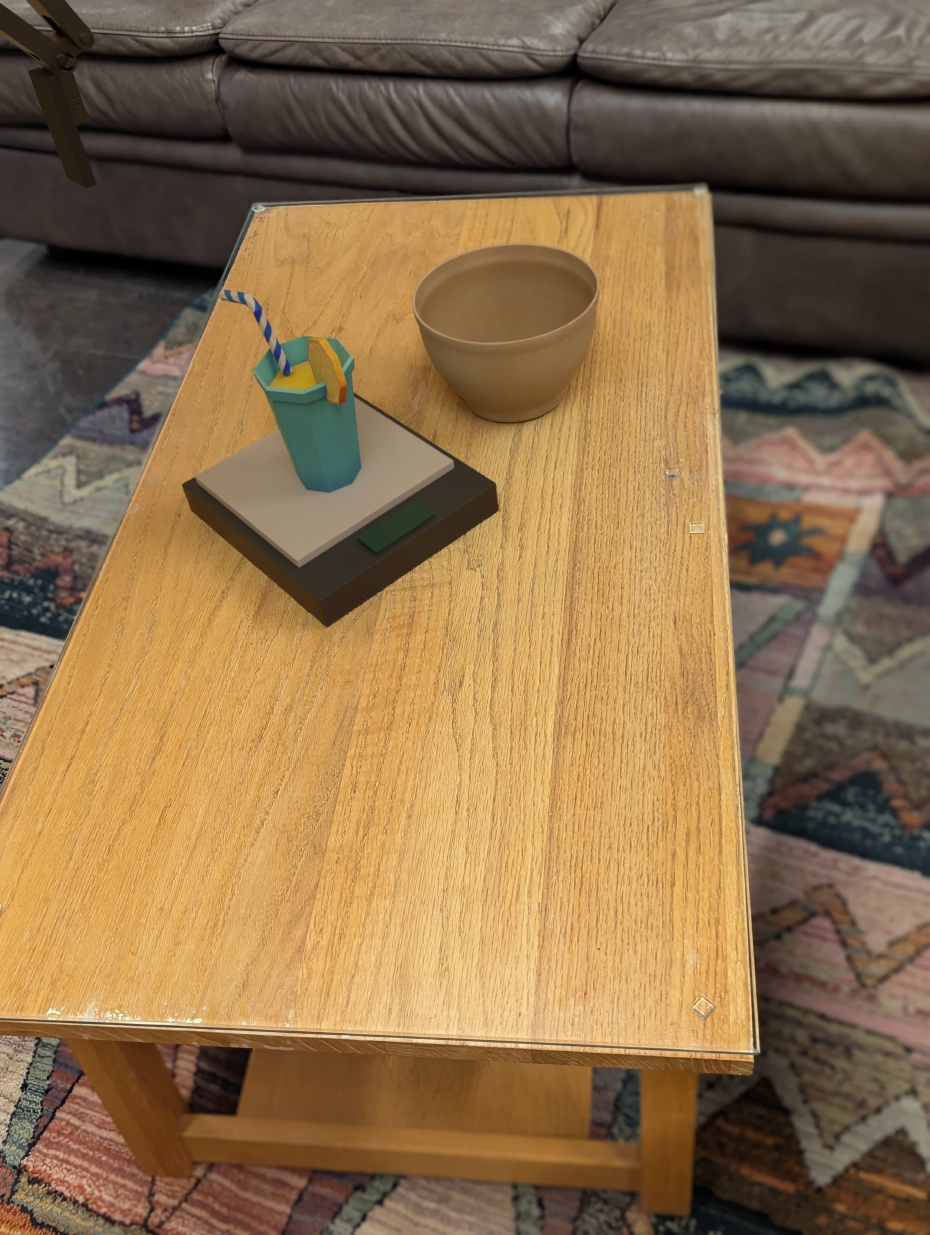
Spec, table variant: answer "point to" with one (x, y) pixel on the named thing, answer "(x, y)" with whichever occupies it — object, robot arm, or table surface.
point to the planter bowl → (508, 325)
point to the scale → (343, 513)
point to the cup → (310, 402)
